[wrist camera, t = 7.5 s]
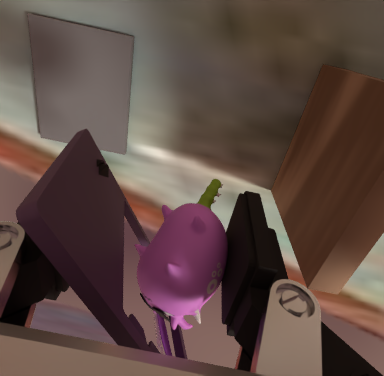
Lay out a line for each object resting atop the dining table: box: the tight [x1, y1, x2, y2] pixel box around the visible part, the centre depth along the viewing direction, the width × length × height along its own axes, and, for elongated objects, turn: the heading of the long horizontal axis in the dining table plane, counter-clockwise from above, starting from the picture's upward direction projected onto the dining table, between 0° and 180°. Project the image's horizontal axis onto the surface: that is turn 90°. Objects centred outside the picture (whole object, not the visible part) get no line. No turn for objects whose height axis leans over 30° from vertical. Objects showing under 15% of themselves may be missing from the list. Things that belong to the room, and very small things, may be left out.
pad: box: [27, 13, 134, 155], centre depth 23 cm, size 8×10×1 cm
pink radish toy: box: [16, 129, 228, 359], centre depth 10 cm, size 7×5×9 cm
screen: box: [271, 64, 384, 294], centre depth 19 cm, size 2×12×12 cm, turn 169°
